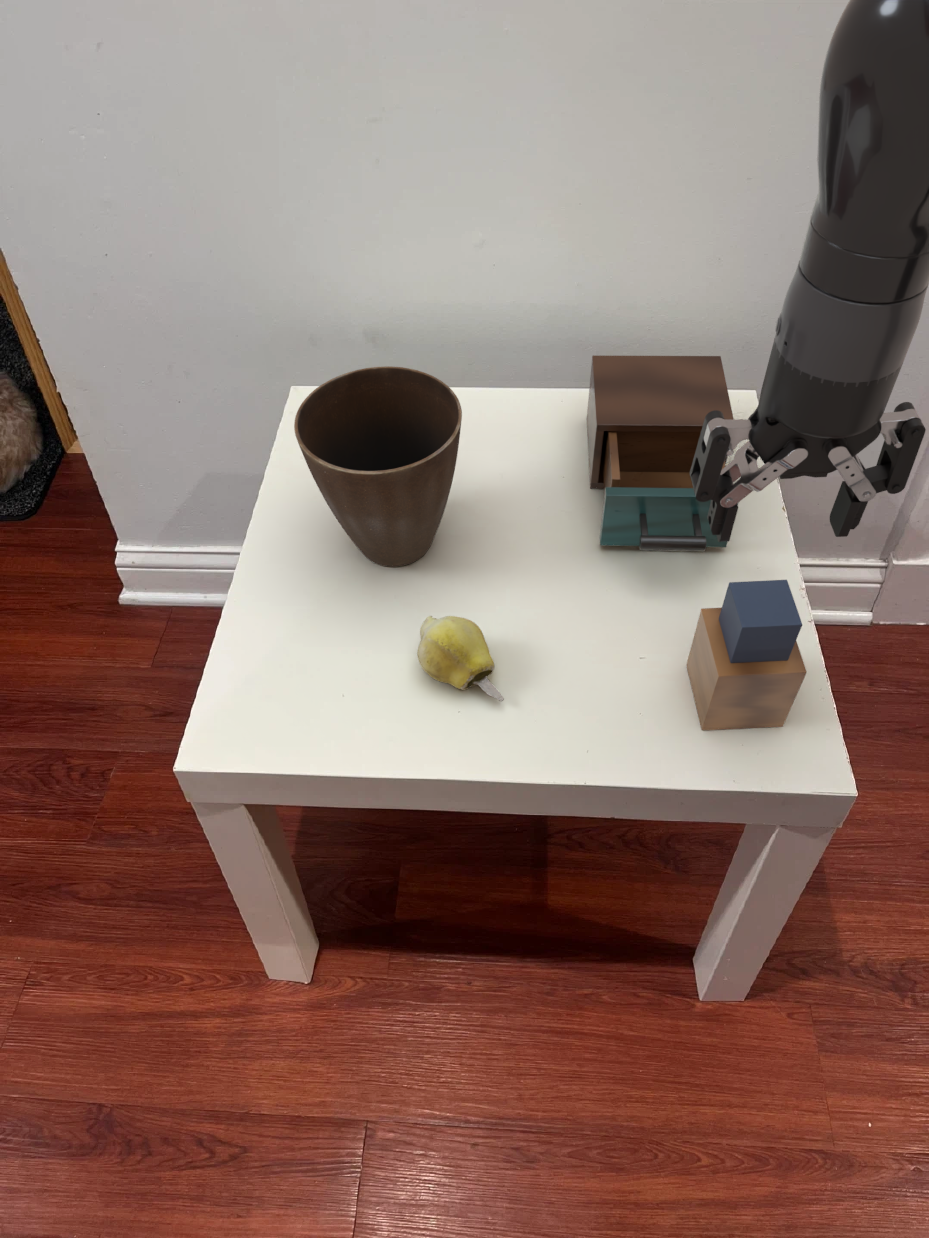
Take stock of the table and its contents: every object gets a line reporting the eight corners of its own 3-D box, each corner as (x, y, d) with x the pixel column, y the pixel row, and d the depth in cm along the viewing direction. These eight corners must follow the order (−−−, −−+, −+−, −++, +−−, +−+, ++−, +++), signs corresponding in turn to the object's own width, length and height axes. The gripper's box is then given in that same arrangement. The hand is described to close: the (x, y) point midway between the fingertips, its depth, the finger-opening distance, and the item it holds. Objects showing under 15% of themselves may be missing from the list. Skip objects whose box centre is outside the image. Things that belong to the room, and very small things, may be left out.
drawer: (731, 580, 89) (746, 530, 83) (601, 577, 89) (608, 528, 84) (713, 475, 98) (725, 424, 93) (595, 474, 98) (601, 423, 93)
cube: (763, 661, 83) (784, 604, 77) (783, 726, 79) (807, 672, 73) (686, 664, 84) (701, 608, 77) (701, 730, 79) (718, 676, 73)
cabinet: (719, 490, 98) (735, 426, 91) (590, 488, 98) (596, 424, 92) (706, 420, 105) (720, 355, 98) (586, 419, 106) (592, 355, 99)
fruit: (479, 729, 80) (393, 662, 83) (517, 696, 84) (434, 633, 87) (498, 685, 76) (408, 616, 79) (537, 653, 80) (450, 588, 83)
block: (773, 616, 77) (787, 579, 73) (788, 660, 74) (802, 624, 70) (718, 618, 77) (728, 582, 73) (730, 663, 74) (742, 627, 70)
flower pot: (325, 606, 89) (296, 483, 77) (317, 500, 99) (291, 375, 86) (477, 585, 90) (474, 461, 78) (455, 483, 100) (449, 357, 87)
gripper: (734, 384, 53) (691, 573, 65) (984, 372, 53) (893, 564, 65) (709, 310, 58) (673, 500, 70) (938, 299, 57) (861, 491, 70)
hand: (779, 531), depth 68 cm, fingers open, 8 cm apart
